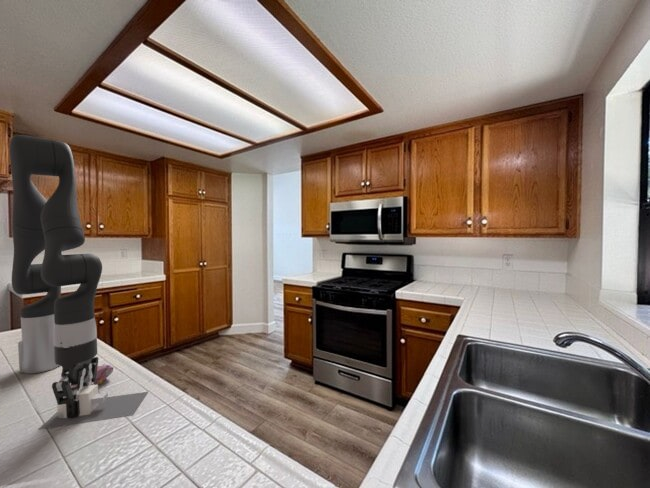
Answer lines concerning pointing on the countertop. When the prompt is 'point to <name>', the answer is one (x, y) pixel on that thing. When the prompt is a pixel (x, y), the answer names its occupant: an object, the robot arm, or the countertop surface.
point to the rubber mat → (102, 411)
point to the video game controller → (101, 374)
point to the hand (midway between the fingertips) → (79, 410)
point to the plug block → (85, 401)
